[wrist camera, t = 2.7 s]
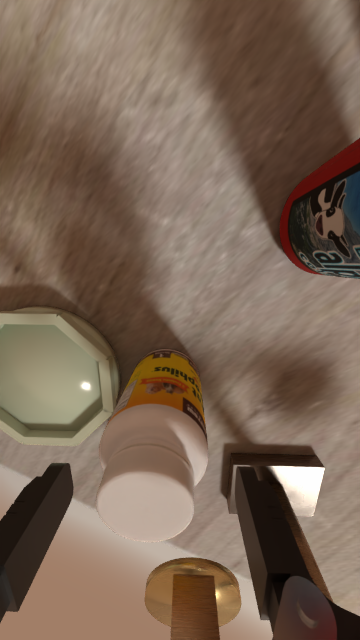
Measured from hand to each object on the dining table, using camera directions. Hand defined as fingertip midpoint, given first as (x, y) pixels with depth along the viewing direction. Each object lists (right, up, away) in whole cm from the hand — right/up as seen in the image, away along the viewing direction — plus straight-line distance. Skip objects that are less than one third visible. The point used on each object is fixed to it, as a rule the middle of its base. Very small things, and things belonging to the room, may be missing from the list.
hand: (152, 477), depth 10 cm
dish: (-10, +3, +8) cm, 13 cm away
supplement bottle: (0, +3, +8) cm, 9 cm away
